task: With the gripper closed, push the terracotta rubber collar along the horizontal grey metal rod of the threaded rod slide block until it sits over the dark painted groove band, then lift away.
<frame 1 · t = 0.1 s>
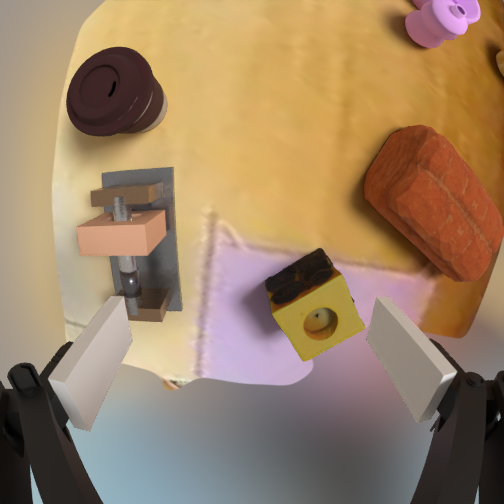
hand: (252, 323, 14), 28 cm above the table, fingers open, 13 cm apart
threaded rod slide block: (142, 243, 41), on the table
bread: (428, 204, 42), on the table
coffee cup: (144, 108, 35), on the table
plant pot: (503, 66, 32), on the table
candle: (305, 288, 45), on the table
container set: (428, 10, 29), on the table
collar: (124, 231, 34), point 6 cm above the table, slide at 0.0 cm
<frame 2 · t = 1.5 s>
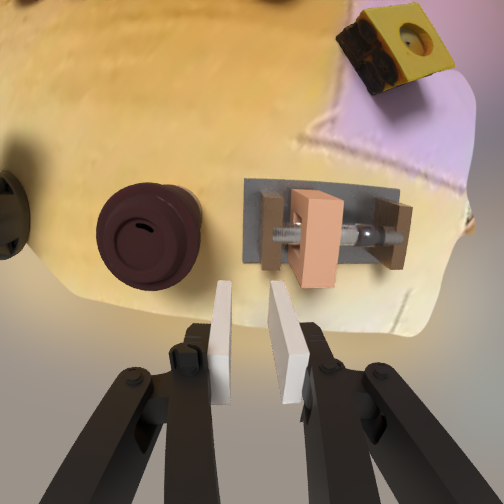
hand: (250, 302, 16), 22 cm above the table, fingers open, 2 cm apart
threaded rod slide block: (324, 222, 38), on the table
coffee cup: (175, 212, 37), on the table
candle: (377, 58, 31), on the table
collar: (311, 233, 32), point 6 cm above the table, slide at 0.0 cm
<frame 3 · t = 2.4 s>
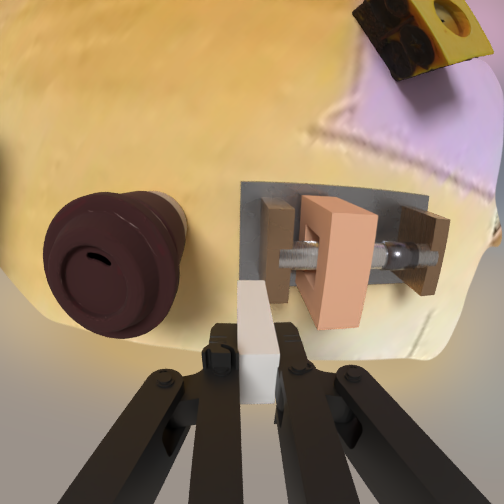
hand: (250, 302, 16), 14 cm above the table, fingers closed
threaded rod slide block: (341, 236, 30), on the table
coffee cup: (154, 224, 29), on the table
candle: (401, 39, 23), on the table
collar: (329, 255, 24), point 6 cm above the table, slide at 0.0 cm
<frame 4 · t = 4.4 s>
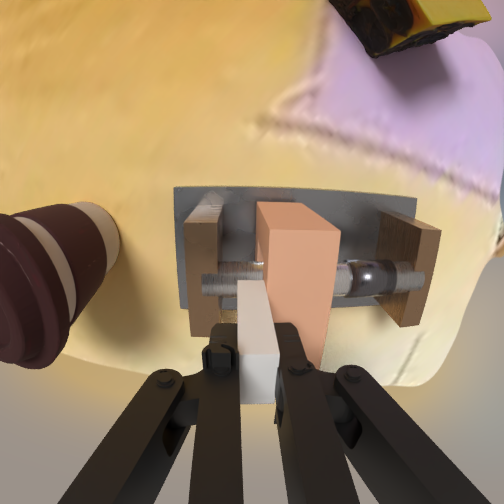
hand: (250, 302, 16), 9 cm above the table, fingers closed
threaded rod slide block: (302, 250, 25), on the table
coffee cup: (89, 238, 24), on the table
candle: (378, 11, 18), on the table
collar: (285, 279, 19), point 7 cm above the table, slide at 0.9 cm, touching gripper
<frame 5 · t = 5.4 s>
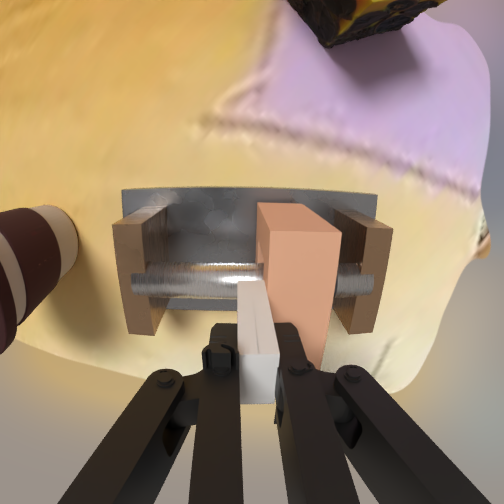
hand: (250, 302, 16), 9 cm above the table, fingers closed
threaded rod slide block: (250, 250, 25), on the table
coffee cup: (53, 238, 24), on the table
candle: (336, 0, 18), on the table
collar: (285, 281, 19), point 6 cm above the table, slide at 5.6 cm
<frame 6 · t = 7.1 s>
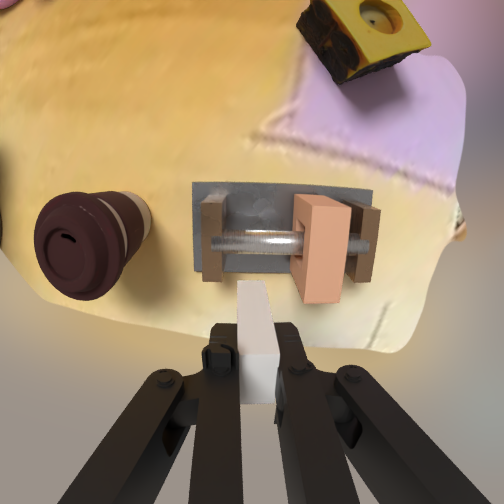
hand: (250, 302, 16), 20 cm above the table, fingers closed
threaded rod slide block: (283, 228, 35), on the table
coffee cup: (126, 218, 34), on the table
candle: (346, 44, 28), on the table
collar: (315, 243, 29), point 6 cm above the table, slide at 6.0 cm
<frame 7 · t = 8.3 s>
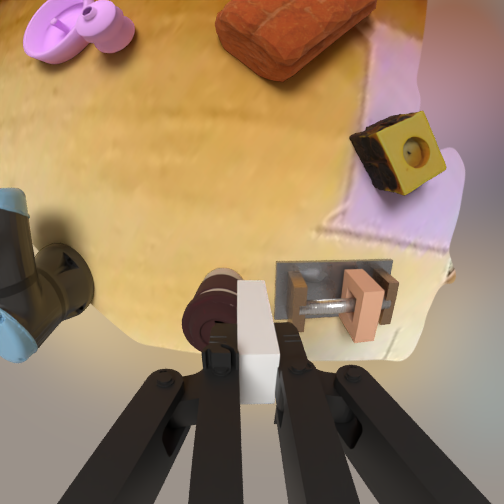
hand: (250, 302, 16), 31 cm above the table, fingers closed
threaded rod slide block: (334, 288, 51), on the table
bread: (296, 19, 36), on the table
coffee cup: (223, 285, 50), on the table
candle: (383, 151, 44), on the table
container set: (85, 33, 34), on the table
collar: (359, 304, 45), point 6 cm above the table, slide at 6.0 cm
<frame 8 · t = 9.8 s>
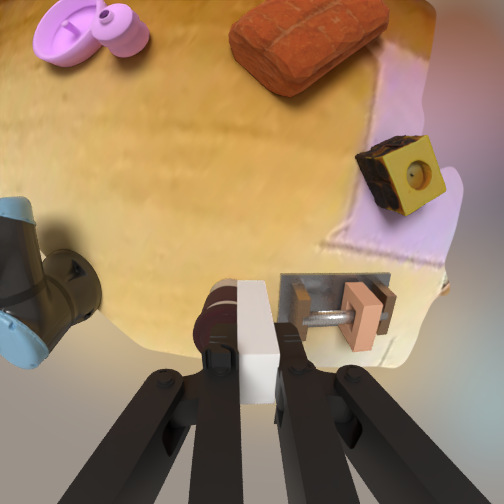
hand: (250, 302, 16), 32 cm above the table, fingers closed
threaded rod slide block: (335, 299, 53), on the table
bread: (307, 34, 38), on the table
coffee cup: (229, 295, 52), on the table
candle: (386, 169, 46), on the table
container set: (97, 36, 35), on the table
collar: (358, 315, 47), point 6 cm above the table, slide at 6.0 cm
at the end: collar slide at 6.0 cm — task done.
